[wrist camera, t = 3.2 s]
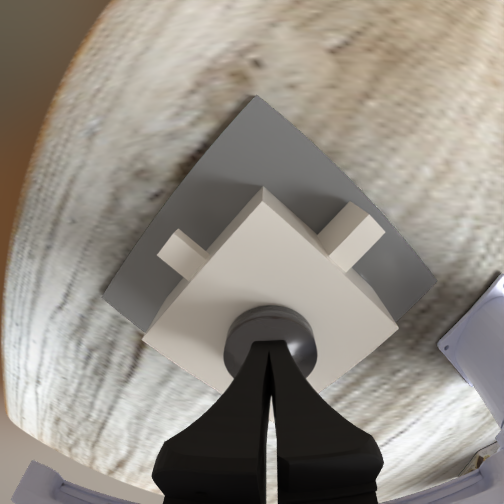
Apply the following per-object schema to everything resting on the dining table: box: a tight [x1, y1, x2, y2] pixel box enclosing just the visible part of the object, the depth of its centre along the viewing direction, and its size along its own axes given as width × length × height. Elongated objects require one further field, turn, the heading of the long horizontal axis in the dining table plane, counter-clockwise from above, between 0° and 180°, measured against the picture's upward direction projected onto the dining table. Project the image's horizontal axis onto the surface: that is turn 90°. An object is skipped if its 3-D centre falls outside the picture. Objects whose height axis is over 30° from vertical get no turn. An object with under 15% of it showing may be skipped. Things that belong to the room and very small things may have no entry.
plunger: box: [223, 305, 318, 378], centre depth 15 cm, size 4×4×6 cm
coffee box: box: [458, 442, 500, 477], centre depth 20 cm, size 9×6×16 cm
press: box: [102, 95, 437, 423], centre depth 16 cm, size 16×16×5 cm
